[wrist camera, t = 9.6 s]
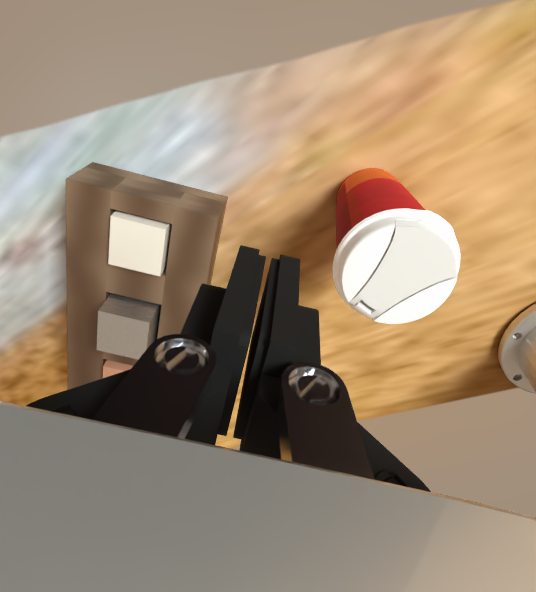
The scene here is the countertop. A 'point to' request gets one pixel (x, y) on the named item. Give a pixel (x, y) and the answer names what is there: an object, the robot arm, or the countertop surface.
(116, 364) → the salmon pink cube
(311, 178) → the countertop surface
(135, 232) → the ivory key
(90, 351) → the key panel
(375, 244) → the paper cup
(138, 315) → the grey cube
